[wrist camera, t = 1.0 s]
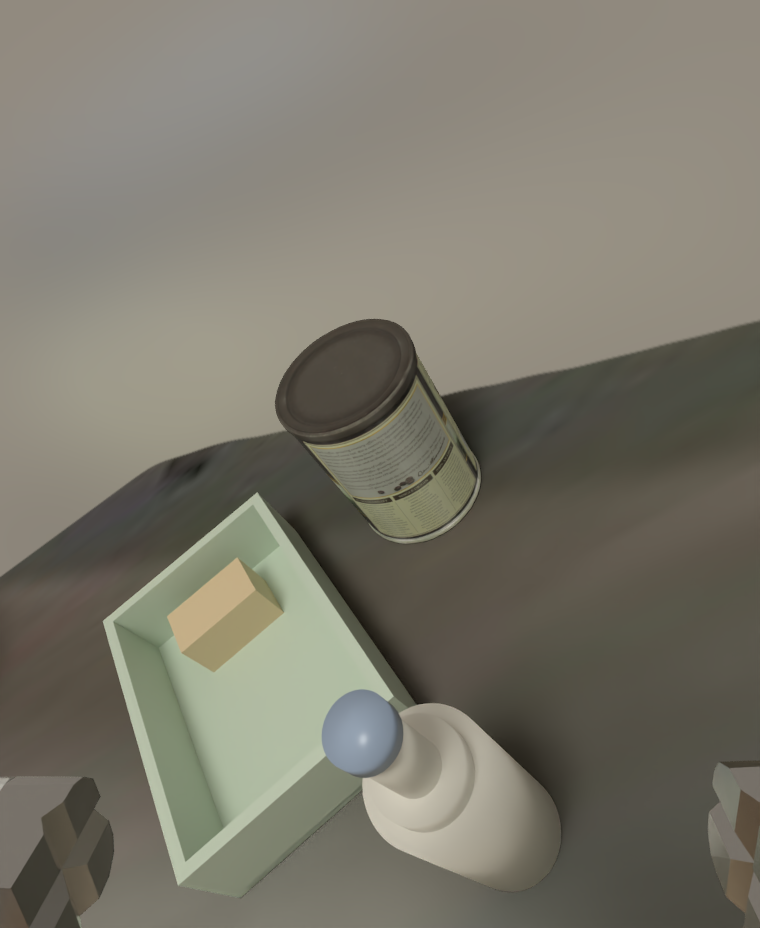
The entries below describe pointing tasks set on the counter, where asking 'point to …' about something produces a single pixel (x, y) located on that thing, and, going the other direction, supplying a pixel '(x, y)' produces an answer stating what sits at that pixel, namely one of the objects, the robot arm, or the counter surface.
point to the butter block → (224, 615)
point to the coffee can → (380, 430)
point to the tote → (244, 706)
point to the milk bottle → (445, 790)
